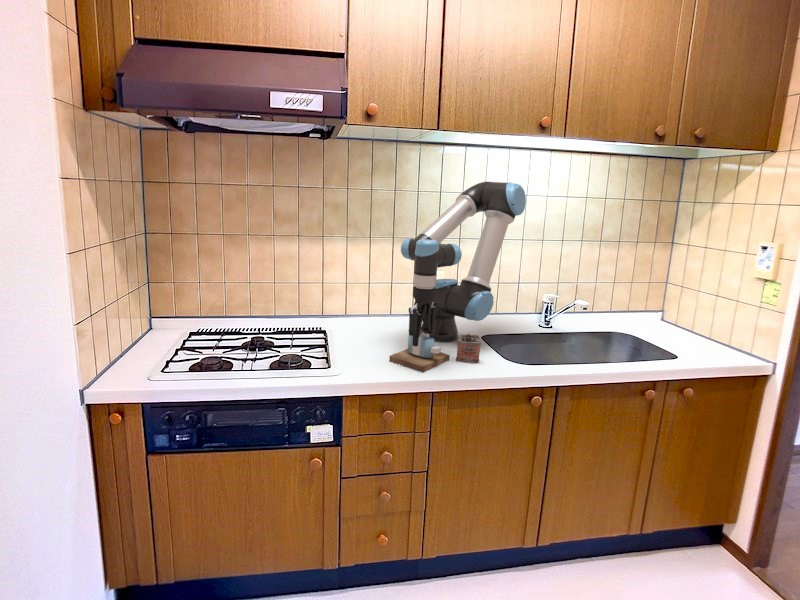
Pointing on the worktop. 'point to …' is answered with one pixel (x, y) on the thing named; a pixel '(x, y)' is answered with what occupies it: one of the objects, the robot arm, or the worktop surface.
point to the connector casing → (424, 346)
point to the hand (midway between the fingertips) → (420, 352)
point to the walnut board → (418, 360)
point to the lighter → (468, 349)
